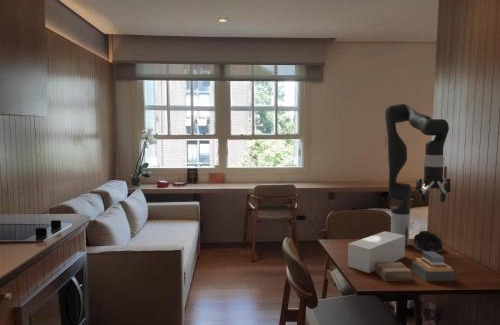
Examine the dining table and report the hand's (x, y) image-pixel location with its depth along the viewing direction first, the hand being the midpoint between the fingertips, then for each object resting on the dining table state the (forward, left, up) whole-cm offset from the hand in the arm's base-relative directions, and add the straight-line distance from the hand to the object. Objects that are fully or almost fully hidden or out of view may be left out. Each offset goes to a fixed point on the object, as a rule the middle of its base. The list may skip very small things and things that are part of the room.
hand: (432, 202), depth 163 cm
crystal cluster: (-26, +13, -30) cm, 42 cm away
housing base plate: (+8, -3, -26) cm, 27 cm away
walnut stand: (+8, -20, -30) cm, 37 cm away
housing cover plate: (+8, -3, -23) cm, 24 cm away
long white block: (-10, -20, -30) cm, 38 cm away
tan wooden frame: (+8, -3, -30) cm, 31 cm away
